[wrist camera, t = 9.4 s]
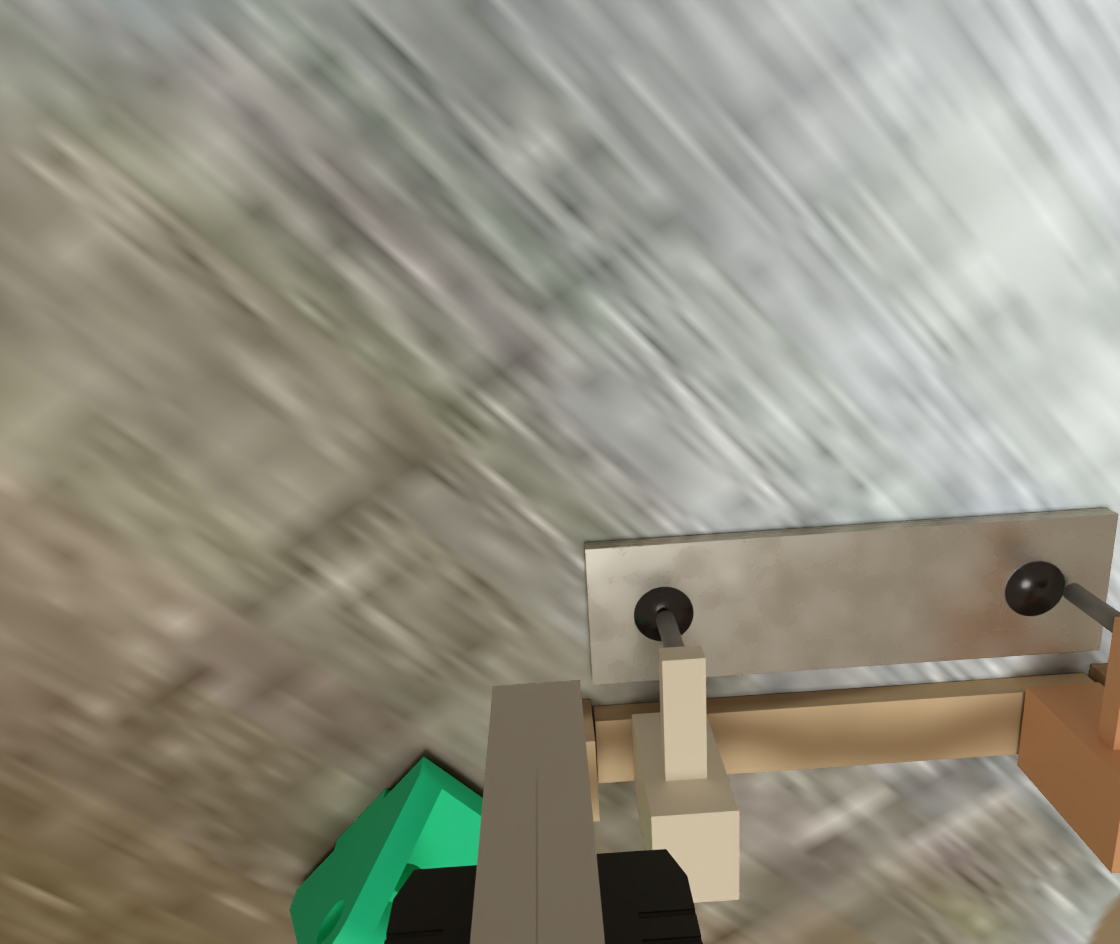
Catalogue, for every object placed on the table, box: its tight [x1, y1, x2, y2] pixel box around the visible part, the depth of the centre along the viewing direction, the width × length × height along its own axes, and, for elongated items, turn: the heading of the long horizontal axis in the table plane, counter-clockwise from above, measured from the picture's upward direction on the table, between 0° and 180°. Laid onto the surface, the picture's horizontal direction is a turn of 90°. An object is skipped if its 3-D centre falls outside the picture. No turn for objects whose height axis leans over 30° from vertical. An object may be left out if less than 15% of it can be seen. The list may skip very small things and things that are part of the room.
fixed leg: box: [632, 611, 739, 903], centre depth 42 cm, size 12×4×8 cm, turn 3°
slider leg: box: [1017, 583, 1120, 873], centre depth 43 cm, size 12×4×8 cm, turn 3°
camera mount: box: [290, 757, 483, 944], centre depth 46 cm, size 12×8×10 cm, turn 139°
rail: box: [582, 663, 1108, 822], centre depth 47 cm, size 5×32×4 cm, turn 93°
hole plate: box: [584, 508, 1118, 685], centre depth 46 cm, size 8×28×1 cm, turn 93°
